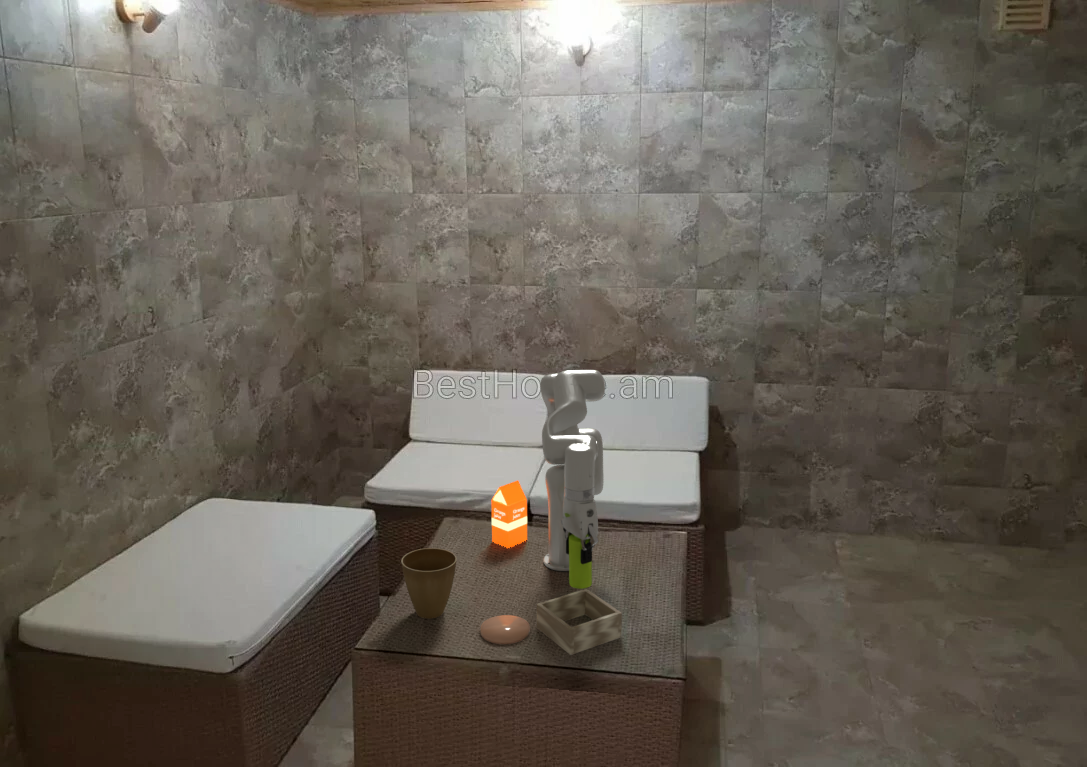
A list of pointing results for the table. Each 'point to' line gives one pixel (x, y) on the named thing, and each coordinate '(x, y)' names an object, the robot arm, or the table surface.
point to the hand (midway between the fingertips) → (578, 557)
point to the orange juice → (509, 515)
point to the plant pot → (429, 579)
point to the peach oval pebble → (505, 629)
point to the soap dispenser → (578, 564)
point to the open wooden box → (583, 635)
